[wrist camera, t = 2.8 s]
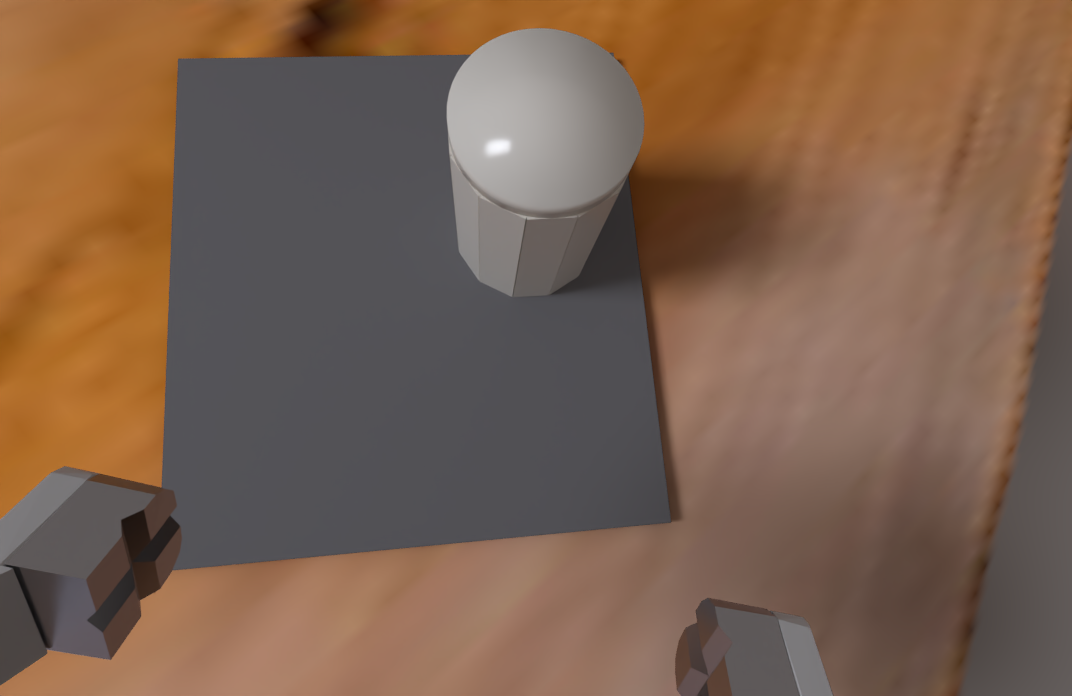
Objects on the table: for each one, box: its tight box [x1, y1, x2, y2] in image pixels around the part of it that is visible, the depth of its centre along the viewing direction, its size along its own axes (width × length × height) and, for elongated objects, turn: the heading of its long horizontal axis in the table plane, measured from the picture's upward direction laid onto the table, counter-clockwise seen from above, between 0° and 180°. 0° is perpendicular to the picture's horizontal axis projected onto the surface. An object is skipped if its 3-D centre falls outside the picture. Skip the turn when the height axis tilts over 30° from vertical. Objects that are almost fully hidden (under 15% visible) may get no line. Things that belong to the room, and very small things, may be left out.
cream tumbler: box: [447, 28, 644, 297], centre depth 23 cm, size 6×6×9 cm
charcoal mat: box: [162, 53, 671, 570], centre depth 26 cm, size 22×20×1 cm
